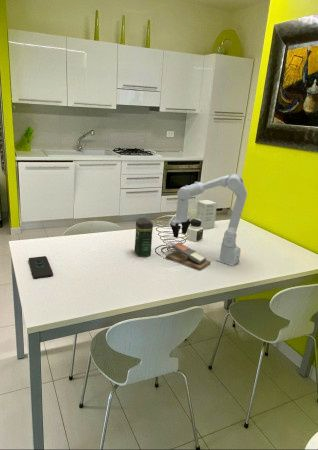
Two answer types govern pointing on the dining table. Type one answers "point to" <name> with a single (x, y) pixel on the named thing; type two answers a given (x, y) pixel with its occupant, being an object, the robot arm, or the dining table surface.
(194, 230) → the medicine bottle
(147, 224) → the coffee jar
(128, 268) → the dining table surface
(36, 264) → the smart home device
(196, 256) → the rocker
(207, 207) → the supplement box
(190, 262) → the switch base
